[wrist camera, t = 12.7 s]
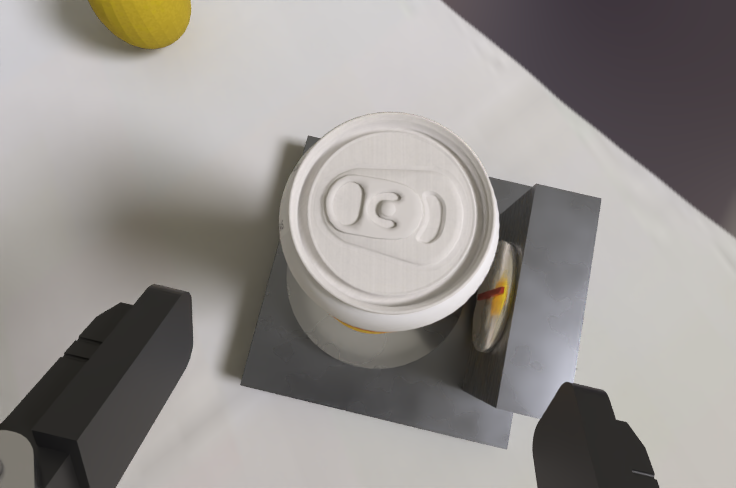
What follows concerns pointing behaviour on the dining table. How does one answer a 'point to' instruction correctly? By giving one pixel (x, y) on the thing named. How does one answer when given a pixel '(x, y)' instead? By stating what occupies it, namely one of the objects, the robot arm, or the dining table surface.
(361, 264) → the beer can
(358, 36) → the dining table surface
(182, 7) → the lemon
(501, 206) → the scale
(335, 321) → the pan
